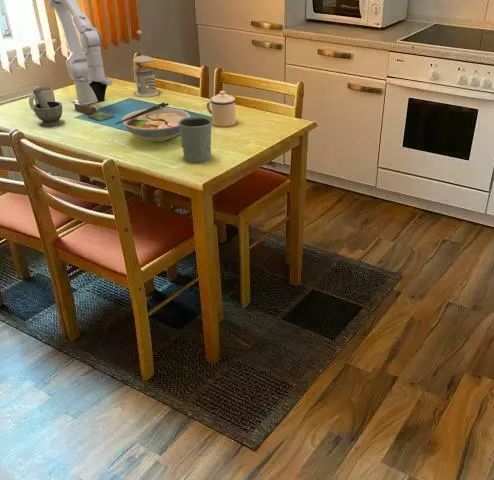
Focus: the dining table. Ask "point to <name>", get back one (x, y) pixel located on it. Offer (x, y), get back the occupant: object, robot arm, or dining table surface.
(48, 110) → the mortar and pestle
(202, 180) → the dining table surface
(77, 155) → the dining table surface
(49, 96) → the cup
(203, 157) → the grey embossed tumbler
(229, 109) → the teacup with lid
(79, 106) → the spatula
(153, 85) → the french press
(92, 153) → the dining table surface
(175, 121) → the ramen bowl
